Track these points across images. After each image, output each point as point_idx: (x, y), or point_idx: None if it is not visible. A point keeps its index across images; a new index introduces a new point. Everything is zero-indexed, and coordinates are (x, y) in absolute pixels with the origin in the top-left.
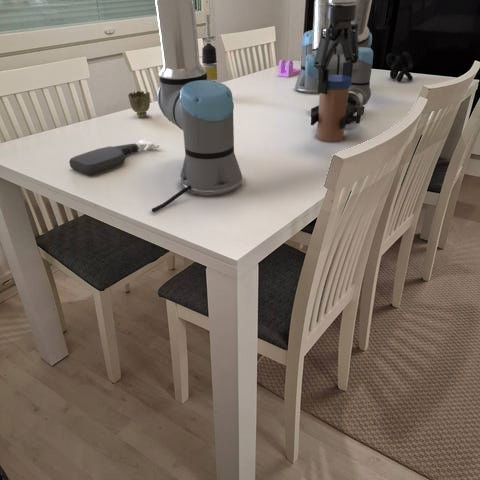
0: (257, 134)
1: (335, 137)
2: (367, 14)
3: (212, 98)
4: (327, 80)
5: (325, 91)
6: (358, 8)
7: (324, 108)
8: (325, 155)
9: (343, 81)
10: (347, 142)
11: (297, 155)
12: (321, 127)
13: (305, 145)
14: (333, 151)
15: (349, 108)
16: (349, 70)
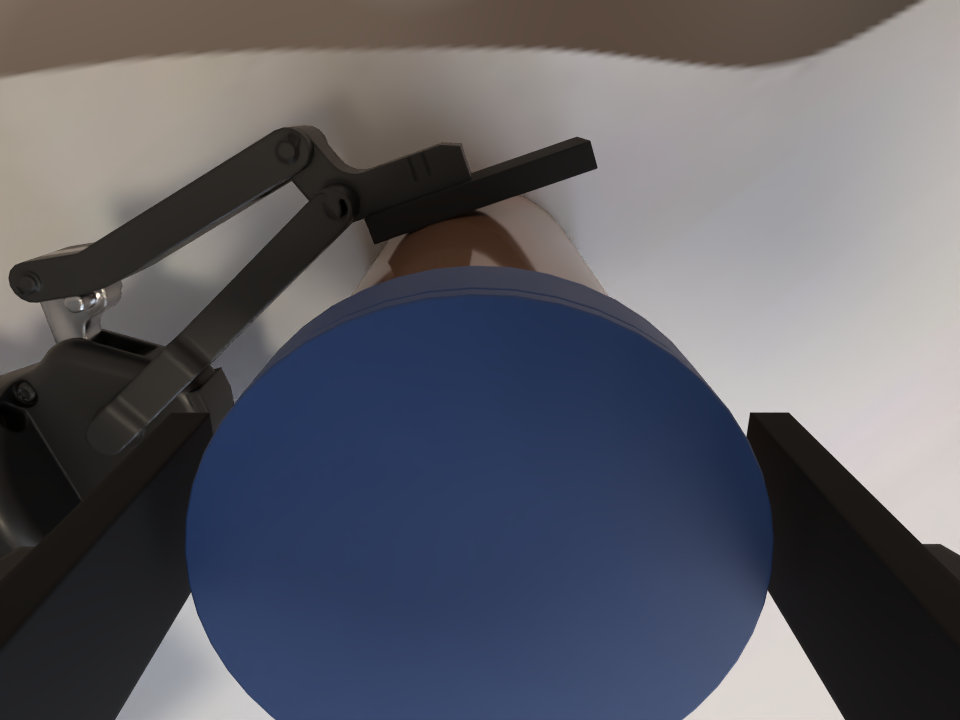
0: (749, 652)
1: (537, 207)
2: None
3: None
4: (864, 518)
5: (805, 431)
6: None
7: None
8: (837, 71)
9: (618, 323)
10: (474, 123)
11: (951, 228)
12: None
13: (739, 315)
14: (723, 79)
15: (191, 345)
16: (82, 585)
